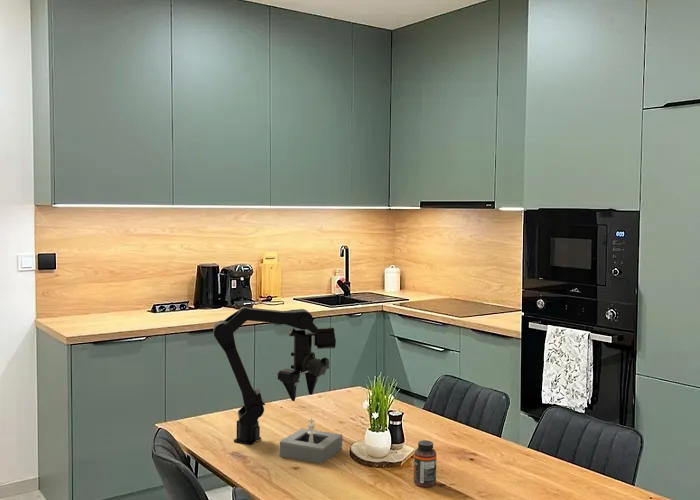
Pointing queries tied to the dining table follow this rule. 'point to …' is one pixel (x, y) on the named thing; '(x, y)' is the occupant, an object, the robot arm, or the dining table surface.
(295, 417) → the dining table surface
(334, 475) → the dining table surface
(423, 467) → the supplement bottle
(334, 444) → the gray square open box
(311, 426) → the chess piece
